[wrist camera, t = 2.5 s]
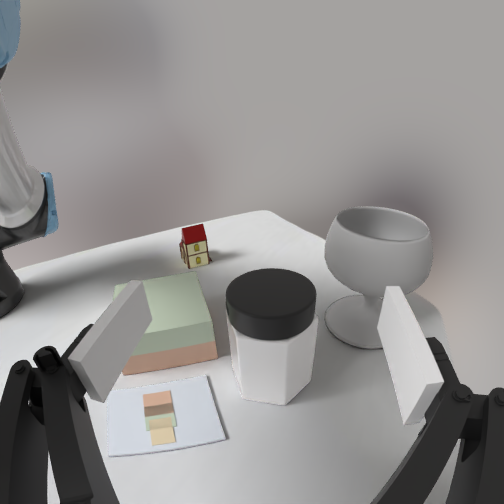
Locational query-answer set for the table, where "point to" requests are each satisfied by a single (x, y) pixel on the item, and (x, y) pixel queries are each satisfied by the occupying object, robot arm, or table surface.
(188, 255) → the toy house
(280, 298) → the jar
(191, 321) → the tower base
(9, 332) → the table surface
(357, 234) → the chalice
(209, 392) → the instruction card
